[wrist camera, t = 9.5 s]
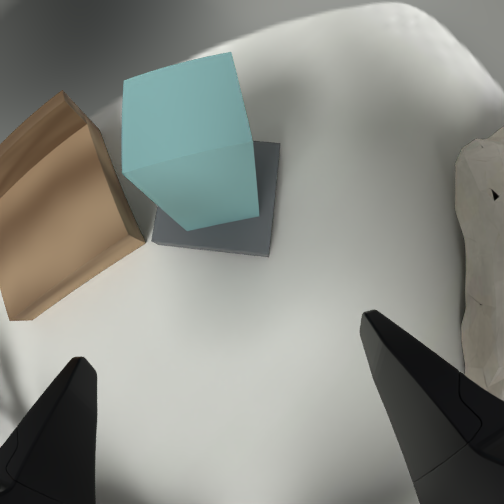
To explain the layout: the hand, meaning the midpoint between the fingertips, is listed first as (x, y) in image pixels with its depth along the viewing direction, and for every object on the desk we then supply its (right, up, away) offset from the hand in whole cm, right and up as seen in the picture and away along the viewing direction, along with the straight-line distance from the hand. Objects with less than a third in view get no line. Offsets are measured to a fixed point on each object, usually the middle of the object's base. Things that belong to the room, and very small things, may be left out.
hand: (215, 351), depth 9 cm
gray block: (-1, +6, +9) cm, 11 cm away
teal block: (-1, +6, +8) cm, 10 cm away
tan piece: (-13, +5, +9) cm, 16 cm away
